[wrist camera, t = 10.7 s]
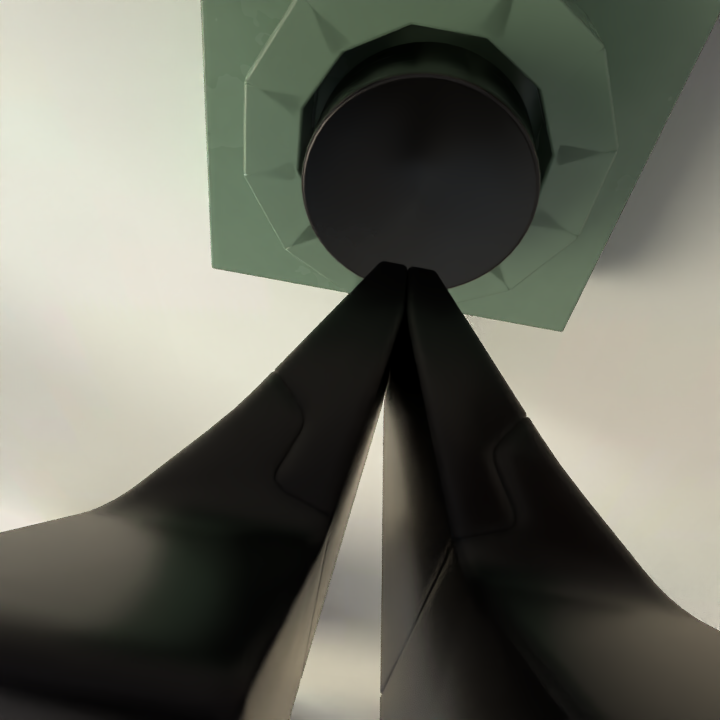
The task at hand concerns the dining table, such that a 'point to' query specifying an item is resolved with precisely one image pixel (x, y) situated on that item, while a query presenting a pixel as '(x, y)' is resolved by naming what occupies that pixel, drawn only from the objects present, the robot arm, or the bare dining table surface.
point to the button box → (491, 41)
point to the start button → (422, 164)
